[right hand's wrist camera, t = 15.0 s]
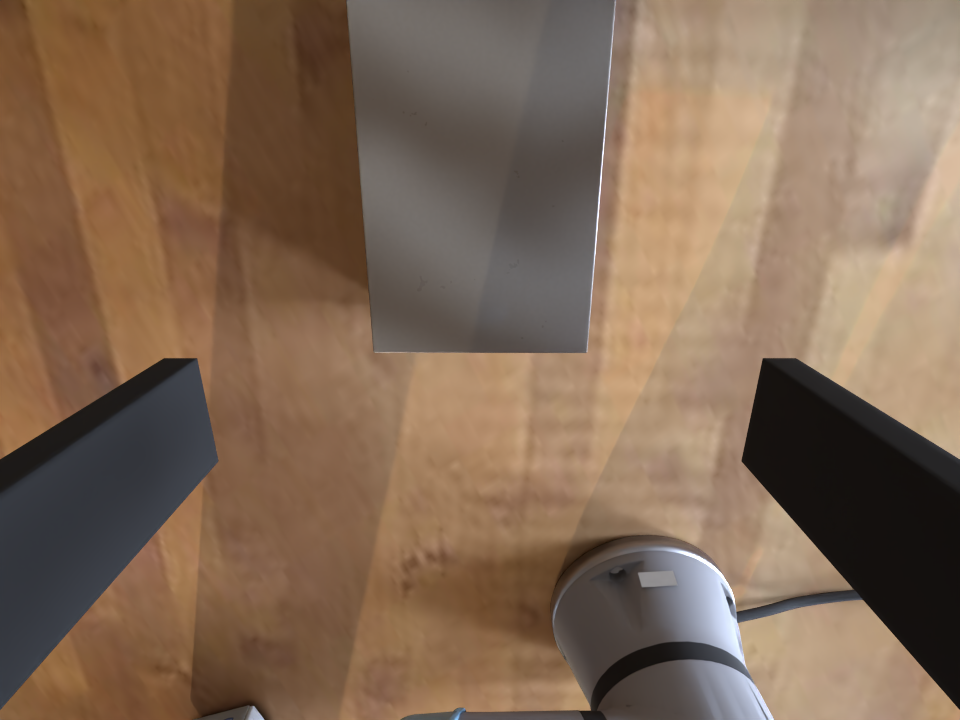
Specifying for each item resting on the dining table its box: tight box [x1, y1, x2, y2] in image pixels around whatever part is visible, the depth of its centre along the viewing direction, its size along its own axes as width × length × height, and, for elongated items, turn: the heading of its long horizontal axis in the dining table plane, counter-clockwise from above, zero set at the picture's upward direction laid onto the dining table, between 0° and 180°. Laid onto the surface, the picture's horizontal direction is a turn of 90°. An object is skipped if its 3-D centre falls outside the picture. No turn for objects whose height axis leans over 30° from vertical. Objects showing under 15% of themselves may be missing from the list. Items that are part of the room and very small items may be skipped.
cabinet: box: [346, 0, 616, 353], centre depth 27 cm, size 21×11×9 cm, turn 0°
